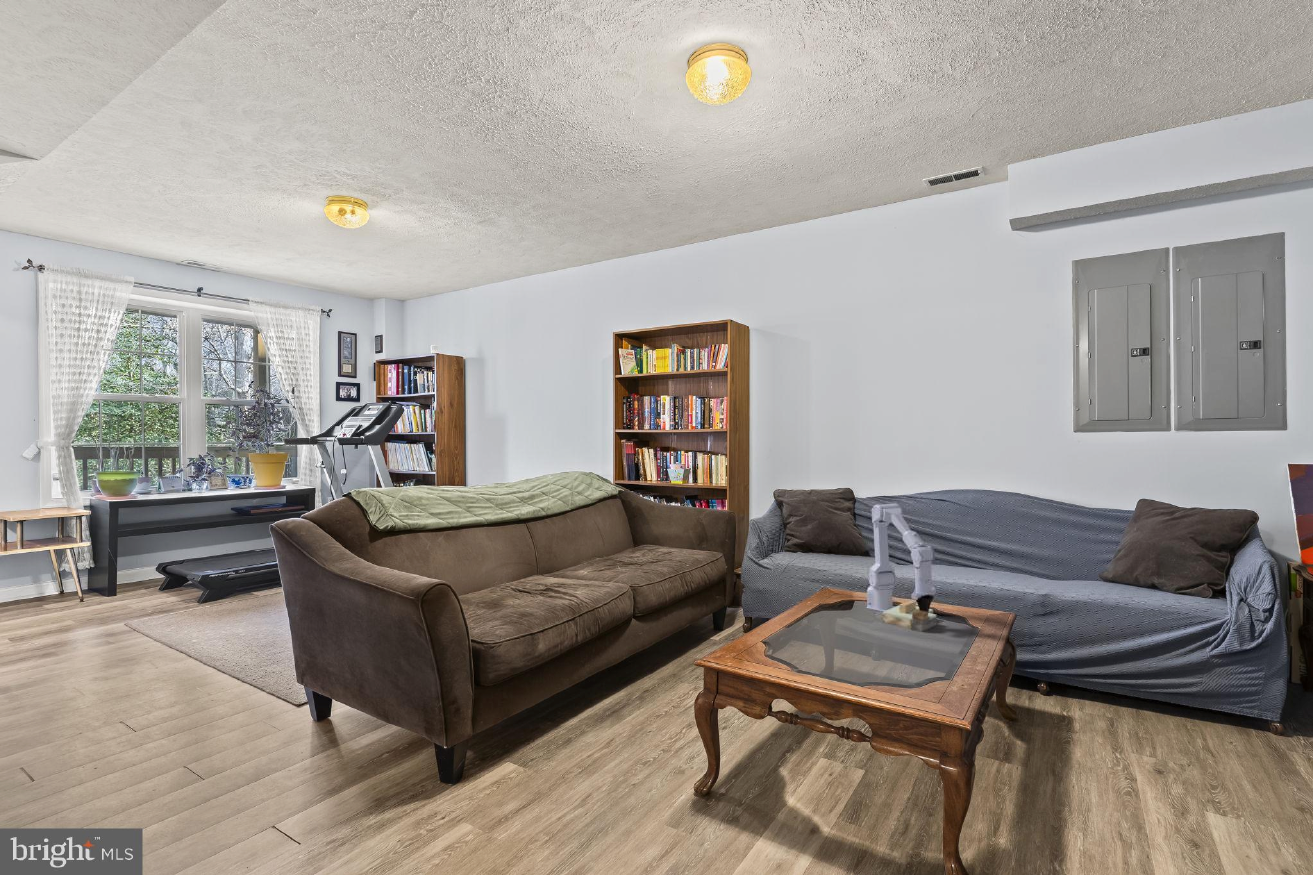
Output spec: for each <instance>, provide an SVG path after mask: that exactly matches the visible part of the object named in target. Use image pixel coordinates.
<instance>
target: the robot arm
mask: <svg viewBox="0 0 1313 875" xmlns="http://www.w3.org/2000/svg"><path fill="white" fill-rule="evenodd" d="M871 523H872V524H873V544H874V559H875V562H874V564H873V565H872V566H870V568H869V573H868V574H869V575H868V582H869V586H868V587H867V590H866V600H867V601H866V603H867V606H866V608H867V609H870V610H874V611H878V612H882V611H883V612H884V611H886V610H889V609H891V608H894V607H895V606H894V605H893V589H894V588H895V587H894V586H895V585H896V583H897V575H896V573H895V568H894V567H893V566H892V565H890V560H889V557H890V556H889V555H890V554H889V536H888V526H889V525H890V524H891V523H892V525H893V526H894V527H895V528H896V529H897V530H898V531H899V533H901V535H902V542H904V544H905V545H906V547H907V548H908V549H909V551H910V552H911V553H910V557H911V560H912V563H913V567H914V581H915V582H914V585H915V587H914V588H915V589H914V591H913V593H911V600H914V601H916V605H917V606H918V607H919V610H921V611H926V612H929V609H931V608H930V607H931V604H932V602H933V600H934V598H935V597H934V595H935V594H936V592H937V590H936V587H935V586H933V582H932V581H933V579H932V575H933V574H932V562H933V561H934V560H935V557H936V554H935V551H934V549H933V547H932V546H931V545H928V544H926V543H925V542H924V541H923V540H922V539H921V537H920V535H919V534H918V532H917V531H914V530H911V529H910V527H909V525H908V524H907V522H906V520H905V518H904V517H903V510H902V508H901V507H900V505H899V504H898V503H896V502H895V503H887V504H875V505H873V507H872V508H871Z"/></svg>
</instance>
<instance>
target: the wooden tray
mask: <svg viewBox="0 0 1313 875" xmlns="http://www.w3.org/2000/svg"><path fill="white" fill-rule="evenodd" d="M881 614H882V613H881ZM931 614H934V611H933V612H931ZM937 620H938V619H937V616H936V617H935V618H933V619H931V620H930V618H927V619H925V620H919V619H915V618H912V619H911V620H907V619H902V618H898V617H893V616H889V615H884V614H882V623H886V624H891V625H894V626H899V627H902V628H903V627H904V628H907V629H910V630H911V631H917V632H921V633H922V632H925V631H927V630H929V629H931V628H933V627H935V626H937Z"/></svg>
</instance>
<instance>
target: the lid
mask: <svg viewBox="0 0 1313 875" xmlns="http://www.w3.org/2000/svg"><path fill="white" fill-rule="evenodd" d="M893 607H894V608H891V609H889V610H886V611H884V612H882V611H881V612H882V613H881V614H884V615H889V616H893V617H898V618H902V619H907V620H911V619H912V612H914V611H916V610H919V606H918V605H917V602H916V600H910V599H909V600H908V601H905V602H902V603H900V604H899V605H897V606H893ZM931 612H933V614H931ZM935 617H936V618H937V614H935V613H934V609H932V608H929V612H928V618H930V620H931V619H933V618H935Z"/></svg>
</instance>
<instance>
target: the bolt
mask: <svg viewBox="0 0 1313 875" xmlns="http://www.w3.org/2000/svg"><path fill="white" fill-rule="evenodd" d="M912 618H915V619H919V620H925V619H927V618H928V612H926V611H921V610H916V611H914V612H912Z"/></svg>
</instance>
